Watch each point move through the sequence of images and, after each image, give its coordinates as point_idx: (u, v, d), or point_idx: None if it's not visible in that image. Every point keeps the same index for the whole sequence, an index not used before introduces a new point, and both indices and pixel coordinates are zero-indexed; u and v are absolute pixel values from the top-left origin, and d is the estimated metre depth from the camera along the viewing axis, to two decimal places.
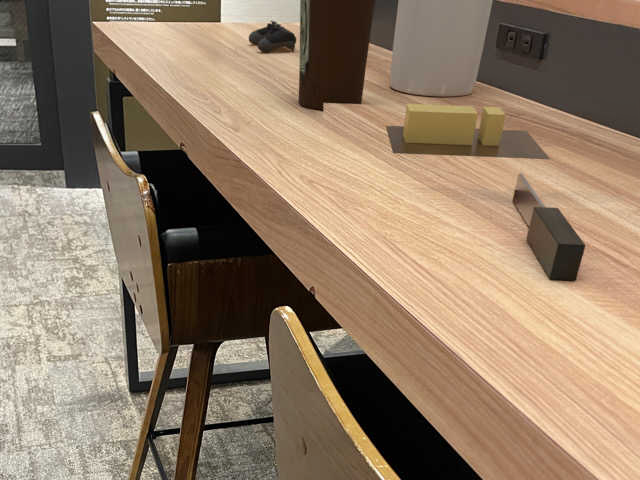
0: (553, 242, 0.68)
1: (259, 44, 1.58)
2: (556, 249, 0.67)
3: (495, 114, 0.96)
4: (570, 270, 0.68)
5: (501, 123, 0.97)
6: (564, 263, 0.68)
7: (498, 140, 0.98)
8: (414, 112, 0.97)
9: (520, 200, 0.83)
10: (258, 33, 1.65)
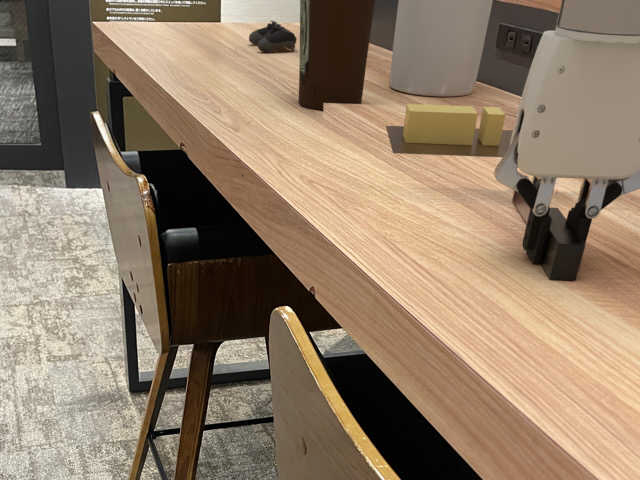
0: (553, 242, 0.68)
1: (259, 44, 1.58)
2: (556, 249, 0.67)
3: (495, 114, 0.96)
4: (570, 270, 0.68)
5: (501, 123, 0.97)
6: (564, 263, 0.68)
7: (498, 140, 0.98)
8: (414, 112, 0.97)
9: (520, 200, 0.83)
10: (259, 33, 1.65)
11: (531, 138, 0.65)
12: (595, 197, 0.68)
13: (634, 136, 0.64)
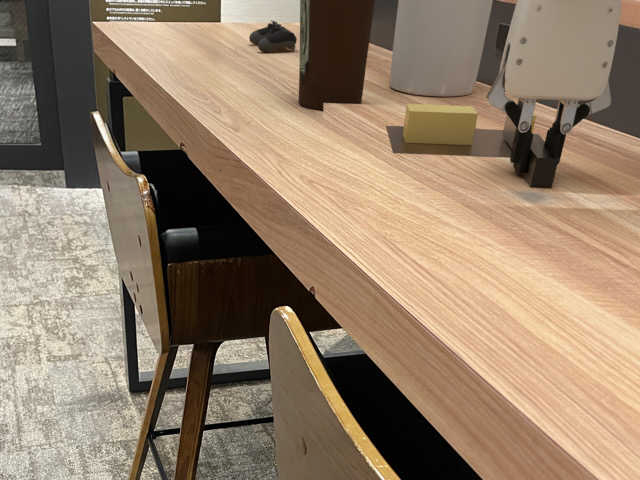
0: (533, 157, 0.84)
1: (259, 44, 1.59)
2: (535, 162, 0.84)
3: None
4: (547, 180, 0.84)
5: (532, 124, 0.96)
6: (542, 174, 0.84)
7: None
8: (414, 112, 0.97)
9: (508, 132, 0.99)
10: (259, 33, 1.65)
11: (515, 65, 0.81)
12: (568, 116, 0.84)
13: (598, 63, 0.80)
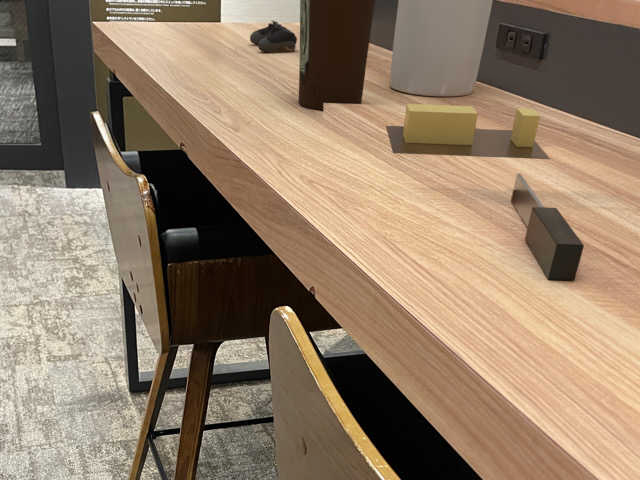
0: (552, 242, 0.68)
1: (259, 44, 1.59)
2: (554, 249, 0.67)
3: (530, 115, 0.96)
4: (569, 271, 0.68)
5: (536, 124, 0.96)
6: (563, 263, 0.68)
7: (532, 141, 0.97)
8: (414, 112, 0.97)
9: (519, 200, 0.83)
10: (260, 33, 1.65)
11: None
12: None
13: None
